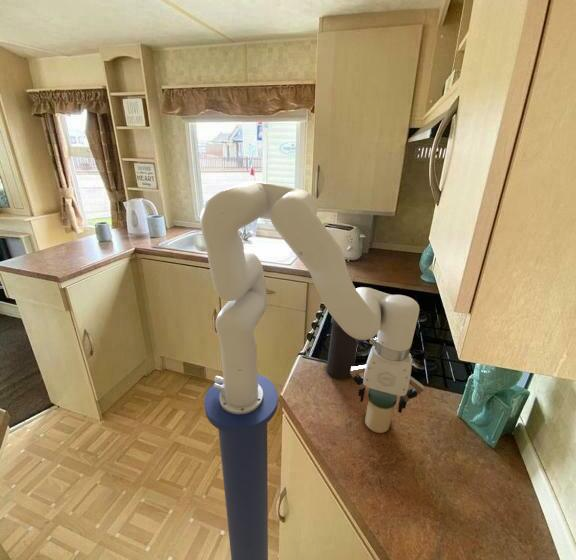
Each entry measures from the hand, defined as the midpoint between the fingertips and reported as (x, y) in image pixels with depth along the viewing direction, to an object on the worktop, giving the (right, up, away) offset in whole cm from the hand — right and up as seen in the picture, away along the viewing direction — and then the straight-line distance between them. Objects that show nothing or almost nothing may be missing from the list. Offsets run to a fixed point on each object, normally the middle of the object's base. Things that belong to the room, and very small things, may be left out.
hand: (380, 403), depth 79 cm
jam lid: (0, +3, -1) cm, 3 cm away
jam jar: (0, -6, +3) cm, 7 cm away
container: (-7, +2, +21) cm, 22 cm away
